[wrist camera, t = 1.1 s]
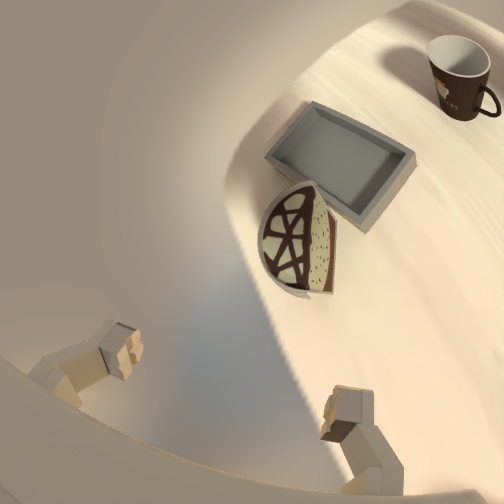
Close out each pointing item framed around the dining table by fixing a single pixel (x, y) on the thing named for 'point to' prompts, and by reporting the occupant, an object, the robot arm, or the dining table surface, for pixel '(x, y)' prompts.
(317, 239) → the ice cream cake half
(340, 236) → the dining table surface
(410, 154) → the bin
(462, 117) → the coffee mug
